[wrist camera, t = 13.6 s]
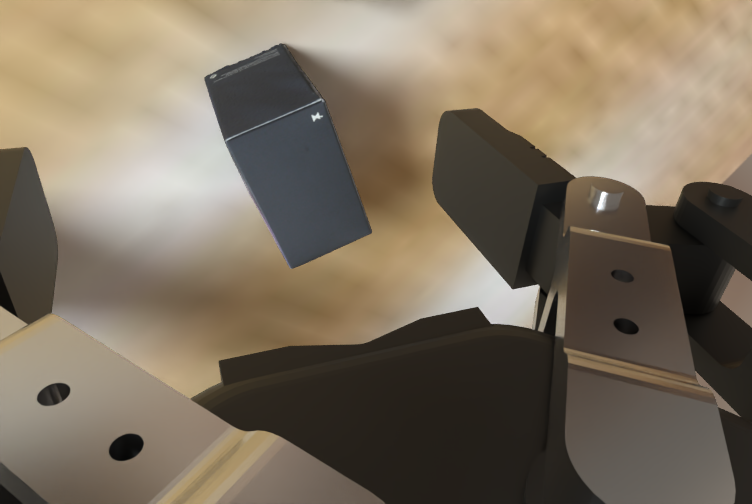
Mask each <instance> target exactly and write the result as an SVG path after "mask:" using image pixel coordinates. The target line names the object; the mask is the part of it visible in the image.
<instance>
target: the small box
mask: <svg viewBox="0 0 752 504" xmlns="http://www.w3.org/2000/svg"><path fill="white" fill-rule="evenodd" d="M205 82H206V86H207V89H208V92H209V96H210V99H211V102H212V105H213V108H214V111H215V114H216V117H217V120H218V123H219V126H220V129H221V132H222V135H223V138H224V141H225V143H226V146H227V148H228V150H229V152H230V155H231V157H232V159H233V161H234V163H235V165H236V167H237V169H238V171H239V173H240V175H241V177H242V179H243V181H244V184H245V186H246V188H247V190H248V192H249V194H250V196H251V198H252V199H253V201H254V203H255V205H256V207H257V209H258V210H259V212H260V214H261V216H262V218H263V220H264V222H265V224H266V225H267V227H268V229H269V231H270V233H271V235H272V237H273V238H274V240H275V242H276V244H277V246H278V248H279V249H280V251H281V253H282V255H283V256H284V258H285V260H286V262H287V264H288V265H289V267H290V268H291V269H293V268H295V267H298V266H300V265H303V264H305V263H307V262H309V261H312V260H314V259H316V258H318V257H321V256H323V255H325V254H327V253H330V252H332V251H334V250H336V249H338V248H340V247H343V246H345V245H347V244H349V243H351V242H354V241H356V240H358V239H360V238H362V237H364V236H367V235H369V234H371V233H372V230H371V227H370V224H369V221H368V218H367V216H366V213H365V210H364V207H363V204H362V202H361V199H360V196H359V193H358V190H357V188H356V185H355V182H354V179H353V176H352V174H351V171H350V168H349V165H348V163H347V160H346V157H345V155H344V152H343V149H342V146H341V144H340V141H339V138H338V135H337V132H336V130H335V127H334V124H333V122H332V118H331V116H330V113H329V111H328V108H327V105H326V102H325V100H324V99H323V97H322V96H321V95H320V93H319V92H318V90H317V89H316V88H315V86H314V85H313V83H311V81H310V80H309V78H308V77H307V76H306V74H305V73H304V72H303V71H302V69H301V68H300V66H299V65H298V64H297V62H296V61H295V59H294V58H293V56H292V55H291V53H290V51H289V50H288V48H287V47H286V45H284V44H281V43H280V44H279V45H276V46H274V47H272V48H271V49H269V50H267V51H263V52H262V53H260V54H257V55H255V56H253V57H250V58H248V59H245V60H243V61H239V62H238V63H236V64H233V65H231V66H225V67H224V68H222V69H219V70H218V71H216V72H214V73H212V74H210V75H207V76H206V77H205Z"/></svg>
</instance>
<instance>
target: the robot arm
mask: <svg viewBox="0 0 752 504" xmlns="http://www.w3.org/2000/svg"><path fill="white" fill-rule="evenodd" d="M432 184H433V191H434V195H435V198H436V200H437V202H438V204H439V205H440V206H441V207H442V208H443V209H444V211H445V212H446V213H447V214H448V215H449V216H450V218H451V219H452V220H453V221H454V222H455V223H456V224H457V226H458V227H459V228H460V229H461V230H462V231H463V233H464V234H465V235H466V236H467V237H468V238H469V239H470V241H471V242H472V243H473V244H474V245H475V246H476V248H477V249H478V250H479V251H480V252H481V253H482V254H483V256H484V257H485V258H486V259H487V260H488V261H489V263H490V264H491V265H492V266H493V267H494V268H495V269H496V271H497V272H498V273H499V274H500V275H501V276H502V278H503V279H504V280H505V281H506V282H507V283H508V284H509V286H510V287H511V288H512V289H517V288H522V287H527V286H532V285H537V284H538V285H539V286H540V287H539V290H538V294H537V298H536V301H535V309H534V316H533V324H532V329H529V328H525V327H519V326H512V325H502V324H490V322H489V321H488V320H487V318H486V317H485V316H484V314H483V313H482V312H481V310H480V309H479V308H478V307H475V308H470V309H465V310H460V311H456V312H451V313H446V314H441V315H436V316H432V317H427V318H422V319H419V320H417V321H415V322H413V323H410V324H408V325H406V326H404V327H401V328H399V329H397V330H395V331H392V332H390V333H388V334H386V335H384V336H381V337H379V338H377V339H375V340H372V341H370V342H368V343H364V344H357V345H316V346H288V347H283V348H278V349H273V350H269V351H264V352H259V353H254V354H249V355H245V356H240V357H235V358H230V359H225V360H221V361H219V367H220V374H221V383H219V384H217V385H214V386H212V387H210V388H208V389H207V390H205V391H203V392H201V393H199V394H198V395H196V396H194V397H193V398H191V399H189V398H187V397H186V396H184V395H183V394H181V393H179V392H178V391H176V390H175V389H173V388H172V387H170V386H168V385H167V384H165V383H164V382H162V381H160V380H159V379H157V378H156V377H154V376H153V375H151V374H149V373H148V372H146V371H145V370H143V369H142V368H140V367H138V366H137V365H135V364H134V363H132V362H131V361H129V360H127V359H126V358H124V357H123V356H121V355H119V354H118V353H116V352H115V351H113V350H112V349H110V348H108V347H107V346H105V345H104V344H102V343H101V342H99V341H97V340H96V339H94V338H93V337H91V336H90V335H88V334H86V333H85V332H83V331H82V330H80V329H78V328H77V327H75V326H74V325H72V324H71V323H69V322H67V321H66V320H64V319H63V318H61V317H59V316H57V315H54V314H51V312H52V304H53V295H54V287H55V278H56V270H57V261H58V245H57V238H56V233H55V228H54V224H53V221H52V217H51V214H50V211H49V208H48V204H47V201H46V198H45V195H44V191H43V188H42V185H41V181H40V178H39V175H38V172H37V168H36V165H35V162H34V159H33V156H32V154H31V152H30V150H29V149H28V148H27V147H22V148H11V149H0V504H752V328H751V327H750V326H749V325H748V324H747V323H745V322H744V321H743V320H742V319H741V318H739V317H738V316H737V315H736V314H735V313H734V312H732V311H731V310H730V309H729V308H728V307H726V306H725V305H724V304H723V303H722V302H721V301H720V299H721V297H722V295H723V293H724V291H725V289H726V287H727V285H728V283H729V281H730V279H731V277H732V275H733V273H734V271H735V269H737V270H738V271H739V272H741V273H742V274H743V275H745V276H746V277H747V278H749V279H750V280H751V281H752V196H751V195H749V194H747V193H745V192H743V191H741V190H738V189H736V188H734V187H731V186H727V185H723V184H718V183H711V182H694V183H690V184H687V185H686V186H684V188H683V190H682V192H681V195H680V197H679V199H678V202H677V204H676V207H673V206H652V205H646V204H645V200H644V197H643V196H642V195H641V194H640V193H639V192H638V191H637V190H635V189H634V188H632V187H631V186H629V185H627V184H624V183H622V182H619V181H616V180H613V179H608V178H603V177H594V176H586V177H579V178H576V177H574V176H573V175H572V174H570V173H569V172H568V171H567V170H565V169H564V168H563V167H561V166H560V165H559V164H557V163H556V162H555V161H553V160H552V159H551V158H547V157H546V155H545V154H544V153H543V152H541V151H540V150H539V149H535V146H534V145H532V144H531V143H530V142H528V141H527V140H526V139H524V138H523V137H522V136H520V135H517V134H515V133H513V132H510V131H508V130H506V129H505V128H504V127H503V126H501V125H500V124H499V123H497V122H496V121H495V120H493V119H492V118H491V117H490V116H488V115H487V114H486V113H484V112H483V111H482V110H480V109H478V108H475V109H463V110H452V111H446V112H444V113H443V114H442V116H441V119H440V122H439V128H438V136H437V144H436V152H435V160H434V168H433V177H432ZM695 371H697V373H698V374H699V375H700V376H701V377H702V378H703V379H704V380H705V381H706V382H707V383H708V384H709V385H710V386H711V387H712V388H713V389H714V390H715V391H716V392H717V393H718V394H719V395H720V396H721V397H722V398H723V399H724V400H725V401H726V402H727V403H728V404H729V405H730V406H731V407H732V408H733V409H734V410H735V411H736V412H737V413H738V414H739V415H740V416H741V417H739V416H737V415H735V414H732V413H730V412H728V411H725V410H723V409H721V408H719V407H718V405H717V402H716V399H715V396H714V394H713V393H712V391H711V390H710V389H709V388H707V387H703V386H701V385H700V384H699V383H698V381H697V378H696V373H695Z"/></svg>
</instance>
